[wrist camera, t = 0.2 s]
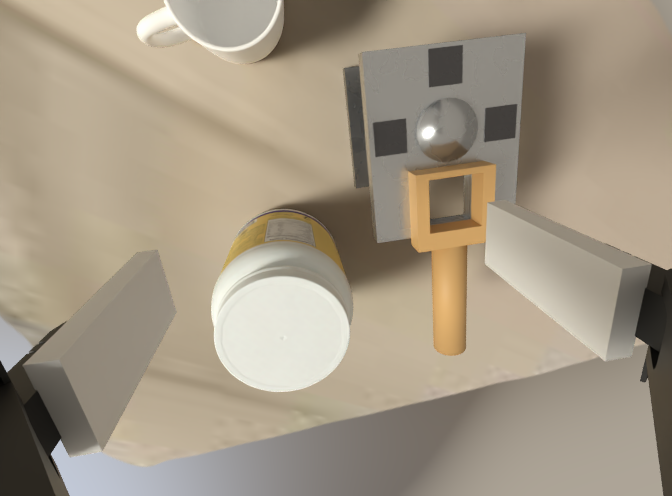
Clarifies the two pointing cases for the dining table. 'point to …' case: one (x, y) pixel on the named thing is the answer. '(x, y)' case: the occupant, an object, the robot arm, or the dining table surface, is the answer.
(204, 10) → the cup
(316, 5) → the dining table surface
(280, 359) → the supplement tub
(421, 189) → the wooden handled frame
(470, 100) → the ball joint plate
